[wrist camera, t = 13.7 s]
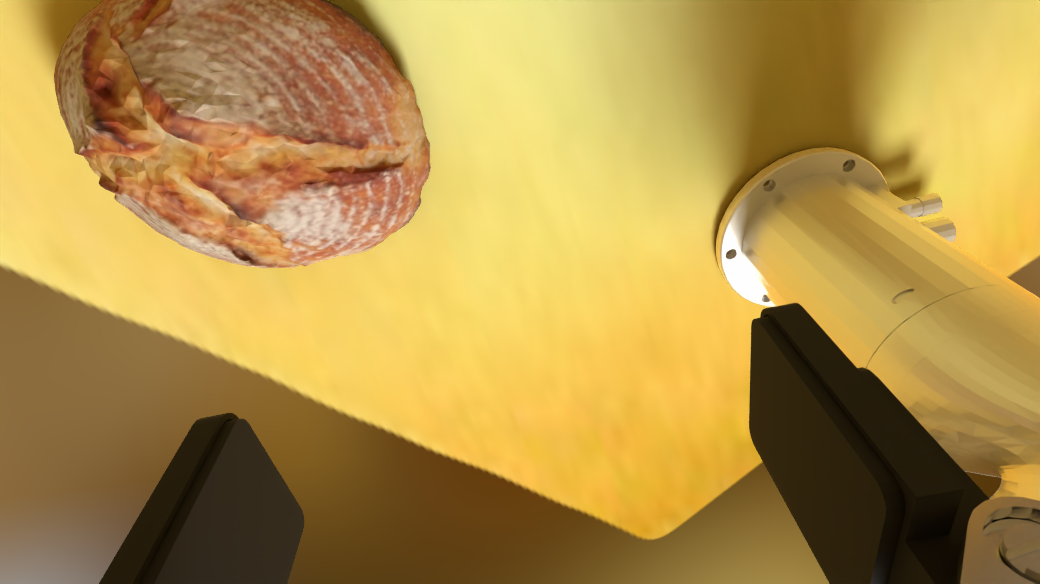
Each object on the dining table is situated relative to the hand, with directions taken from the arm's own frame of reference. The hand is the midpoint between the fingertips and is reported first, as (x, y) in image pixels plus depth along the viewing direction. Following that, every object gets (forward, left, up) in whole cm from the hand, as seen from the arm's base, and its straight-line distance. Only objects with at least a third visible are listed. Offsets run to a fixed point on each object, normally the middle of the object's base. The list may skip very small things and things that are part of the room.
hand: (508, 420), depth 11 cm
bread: (+12, 0, -29) cm, 32 cm away
